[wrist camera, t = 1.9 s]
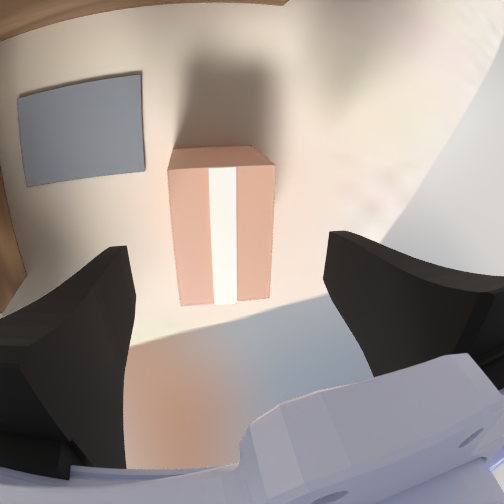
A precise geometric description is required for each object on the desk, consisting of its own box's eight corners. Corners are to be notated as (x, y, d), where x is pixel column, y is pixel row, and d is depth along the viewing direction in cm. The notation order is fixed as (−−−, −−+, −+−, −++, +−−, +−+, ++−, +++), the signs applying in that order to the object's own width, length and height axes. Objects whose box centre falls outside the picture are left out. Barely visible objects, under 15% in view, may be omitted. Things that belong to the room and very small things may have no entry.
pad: (145, 170, 16) (144, 171, 15) (28, 186, 14) (27, 187, 14) (141, 74, 13) (140, 74, 13) (18, 98, 12) (17, 98, 12)
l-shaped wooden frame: (274, 256, 19) (294, 294, 16) (12, 276, 16) (-13, 313, 13) (282, -14, 12) (309, -39, 9) (-20, 31, 9) (-60, 25, 6)
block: (249, 248, 19) (270, 299, 15) (180, 253, 18) (180, 308, 14) (250, 145, 16) (276, 166, 12) (173, 148, 16) (167, 170, 11)
